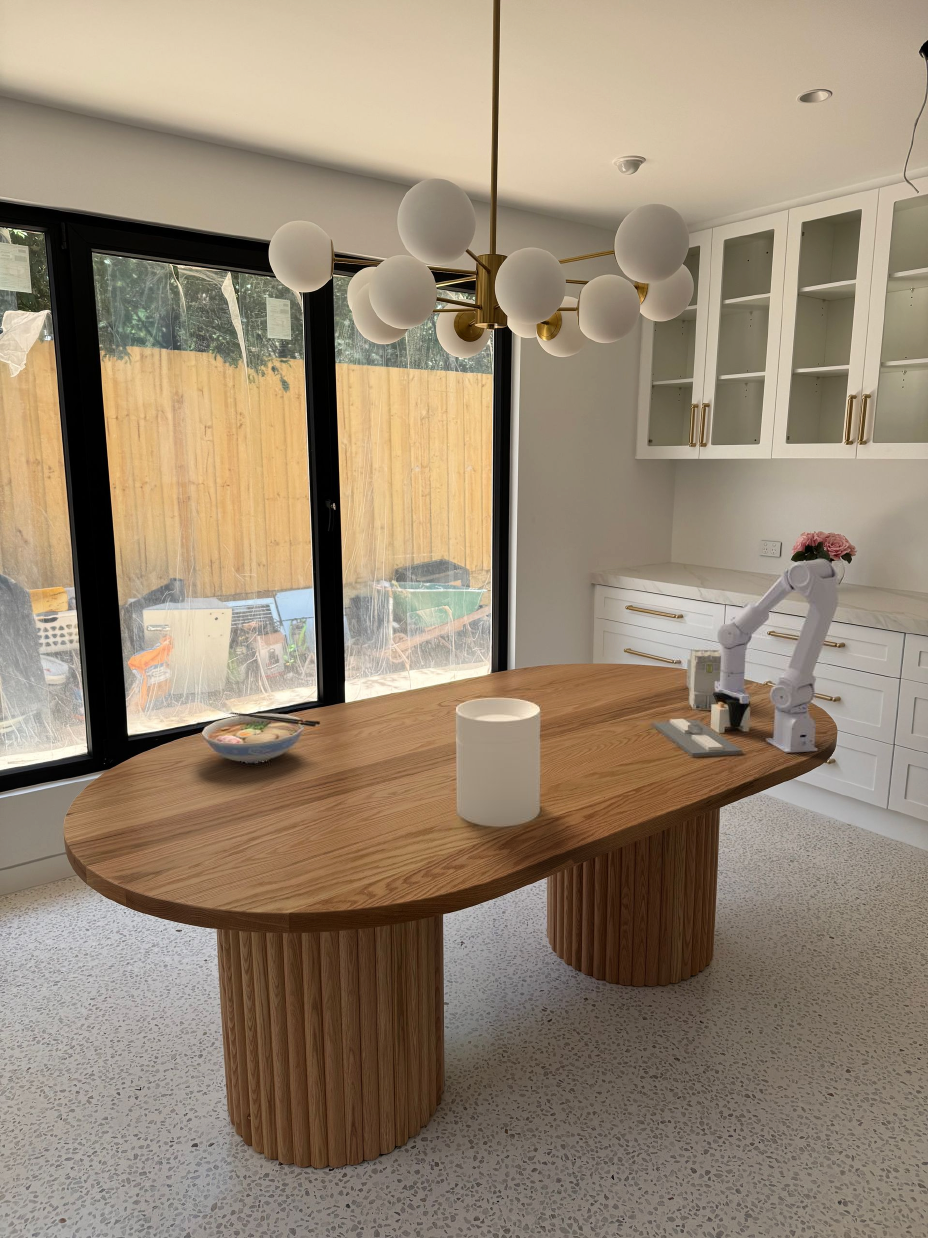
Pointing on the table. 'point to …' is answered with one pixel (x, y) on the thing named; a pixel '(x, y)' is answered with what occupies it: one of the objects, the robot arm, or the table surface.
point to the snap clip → (695, 728)
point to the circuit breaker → (703, 677)
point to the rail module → (726, 718)
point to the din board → (696, 739)
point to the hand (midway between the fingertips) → (729, 723)
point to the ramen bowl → (255, 736)
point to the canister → (498, 761)
